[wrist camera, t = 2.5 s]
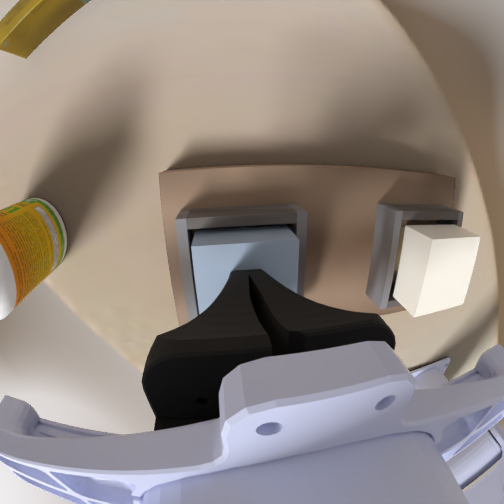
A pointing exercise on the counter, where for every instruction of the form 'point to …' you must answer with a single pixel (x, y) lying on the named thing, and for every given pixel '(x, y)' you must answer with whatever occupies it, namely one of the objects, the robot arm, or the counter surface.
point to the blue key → (242, 257)
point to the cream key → (435, 267)
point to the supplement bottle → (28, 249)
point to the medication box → (33, 23)
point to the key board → (308, 223)
